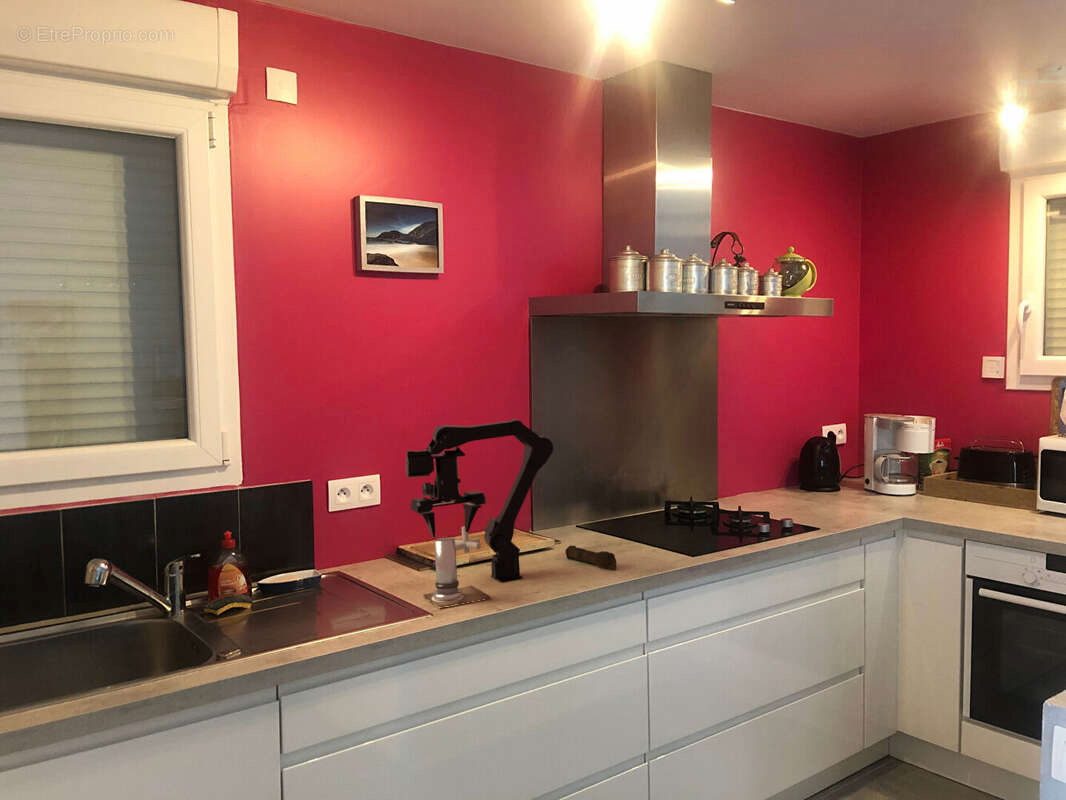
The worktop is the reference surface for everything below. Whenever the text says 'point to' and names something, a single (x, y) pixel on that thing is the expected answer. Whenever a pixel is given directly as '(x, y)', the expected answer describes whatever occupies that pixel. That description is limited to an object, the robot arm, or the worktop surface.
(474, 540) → the pipe connector
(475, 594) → the walnut board
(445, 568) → the silver flared cylinder
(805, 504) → the worktop surface
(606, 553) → the hand tool
